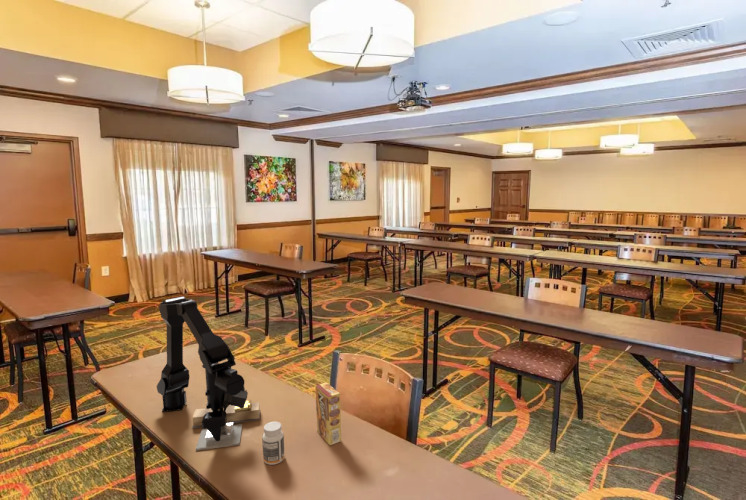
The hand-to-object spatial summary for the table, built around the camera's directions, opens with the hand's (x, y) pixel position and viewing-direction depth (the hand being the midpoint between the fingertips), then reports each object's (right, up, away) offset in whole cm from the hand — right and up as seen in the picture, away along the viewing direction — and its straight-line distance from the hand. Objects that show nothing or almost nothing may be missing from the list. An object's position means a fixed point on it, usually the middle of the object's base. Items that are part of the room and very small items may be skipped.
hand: (219, 433), depth 124 cm
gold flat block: (+6, +4, +11) cm, 13 cm away
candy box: (+33, -1, 0) cm, 33 cm away
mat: (0, -1, 0) cm, 2 cm away
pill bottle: (+19, -3, -10) cm, 21 cm away
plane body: (-1, 0, +10) cm, 10 cm away
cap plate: (0, -1, 0) cm, 1 cm away
